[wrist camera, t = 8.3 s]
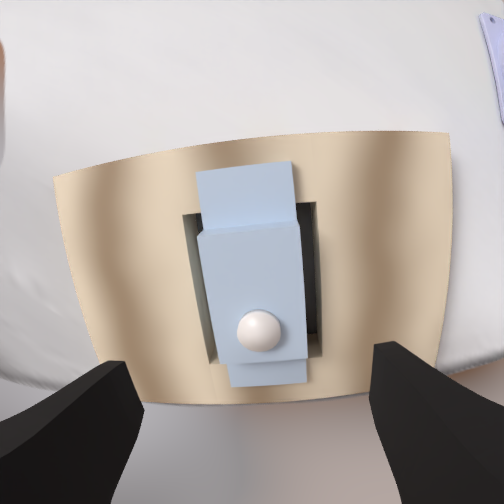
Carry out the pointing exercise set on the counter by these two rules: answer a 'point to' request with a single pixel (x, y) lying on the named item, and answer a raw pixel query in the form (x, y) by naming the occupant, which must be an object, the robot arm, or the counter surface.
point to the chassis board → (324, 245)
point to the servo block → (254, 272)
